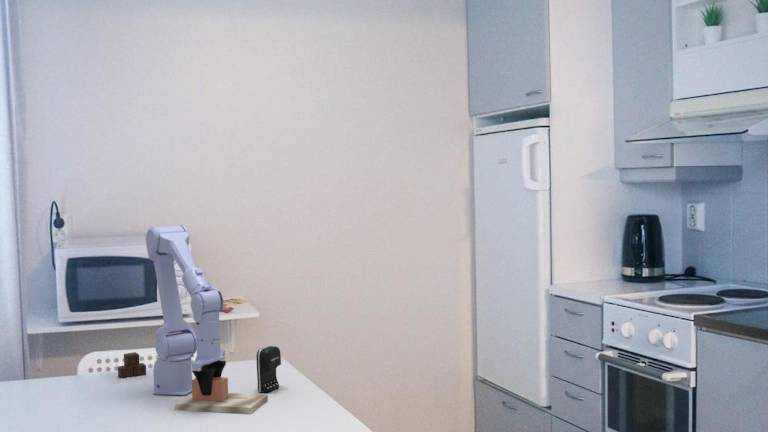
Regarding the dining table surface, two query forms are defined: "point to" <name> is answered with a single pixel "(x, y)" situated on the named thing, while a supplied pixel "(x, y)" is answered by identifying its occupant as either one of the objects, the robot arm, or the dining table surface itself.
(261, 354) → the battery charger
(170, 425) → the dining table surface
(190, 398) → the board
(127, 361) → the stack of crates
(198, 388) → the block
